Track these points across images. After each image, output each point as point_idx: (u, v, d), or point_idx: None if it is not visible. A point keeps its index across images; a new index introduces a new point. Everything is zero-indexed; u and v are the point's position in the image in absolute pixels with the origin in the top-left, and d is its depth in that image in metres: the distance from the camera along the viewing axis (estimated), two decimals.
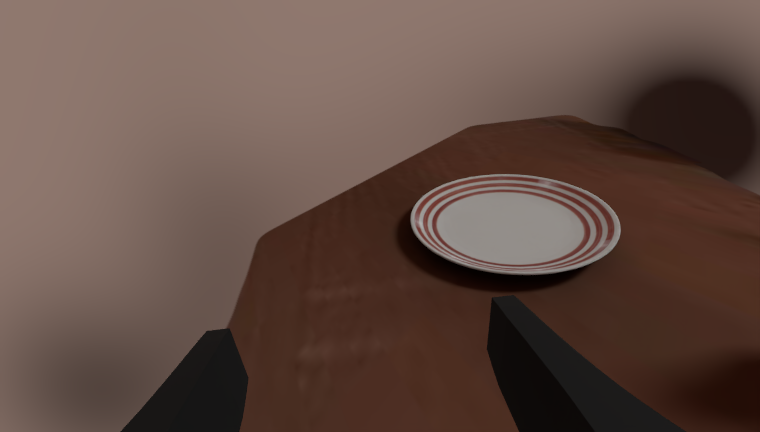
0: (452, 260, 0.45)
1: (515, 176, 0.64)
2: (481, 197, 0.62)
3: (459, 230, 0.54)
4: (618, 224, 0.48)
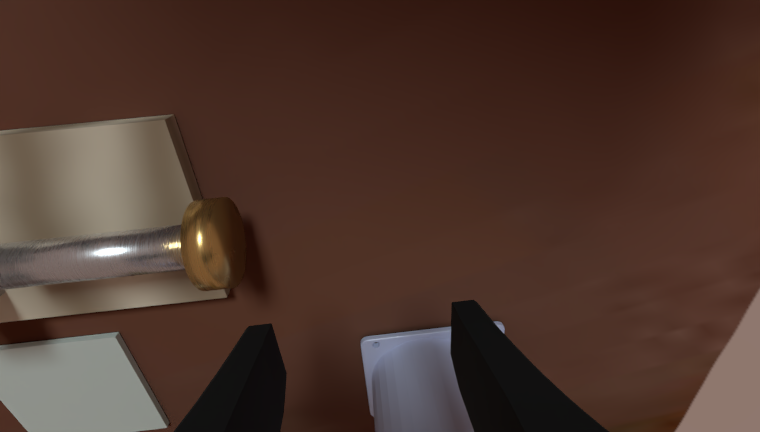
0: None
1: None
2: None
3: None
4: None
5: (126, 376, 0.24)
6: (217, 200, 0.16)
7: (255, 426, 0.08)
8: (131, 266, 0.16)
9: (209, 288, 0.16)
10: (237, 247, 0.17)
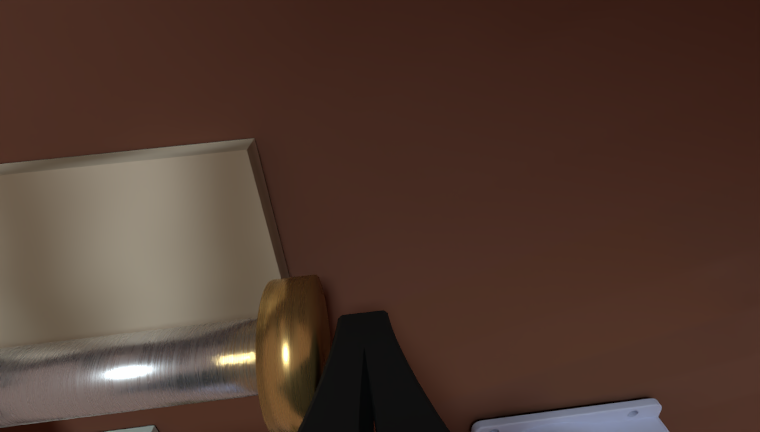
0: None
1: None
2: None
3: None
4: None
5: None
6: (307, 288, 0.10)
7: (366, 411, 0.08)
8: (166, 399, 0.09)
9: None
10: (325, 348, 0.11)
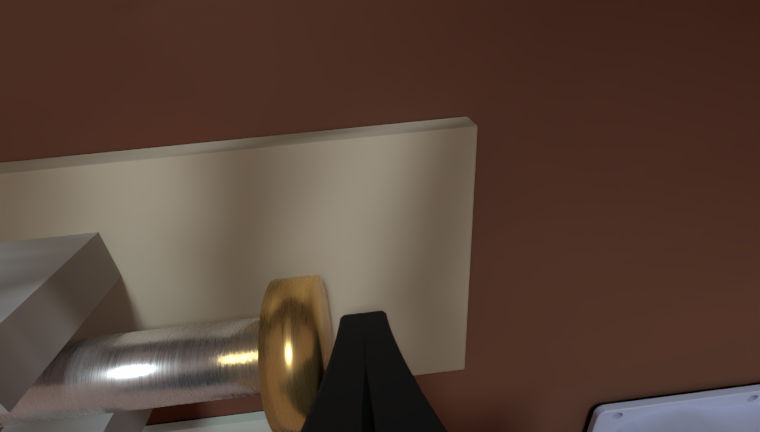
0: None
1: None
2: None
3: None
4: None
5: None
6: (309, 288, 0.10)
7: (368, 411, 0.08)
8: (168, 398, 0.09)
9: None
10: (327, 347, 0.11)
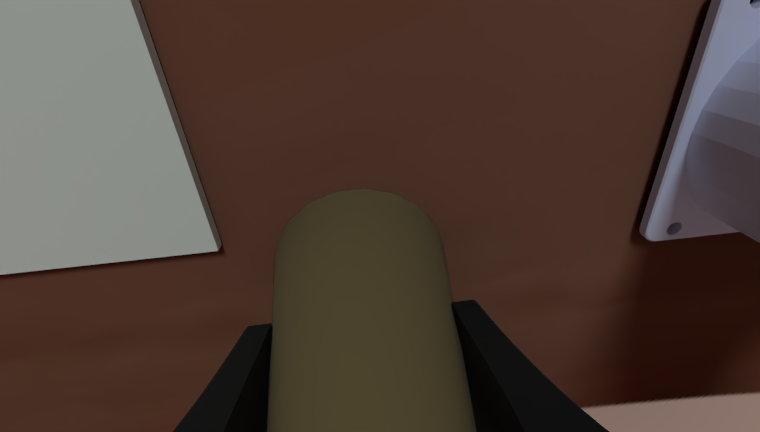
0: None
1: None
2: None
3: None
4: None
5: (126, 70, 0.09)
6: None
7: (254, 426, 0.08)
8: None
9: None
10: None
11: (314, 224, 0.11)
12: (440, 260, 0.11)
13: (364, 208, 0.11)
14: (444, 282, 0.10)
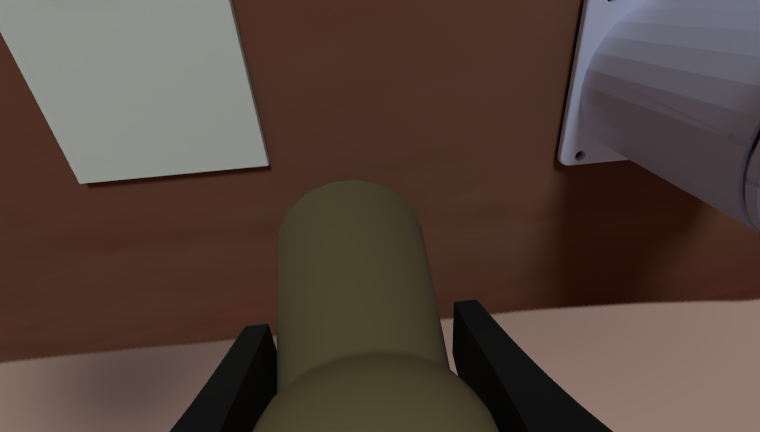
0: None
1: None
2: None
3: None
4: None
5: (221, 40, 0.15)
6: None
7: (251, 426, 0.08)
8: None
9: None
10: None
11: (312, 207, 0.13)
12: (418, 235, 0.13)
13: (354, 193, 0.13)
14: (421, 250, 0.13)
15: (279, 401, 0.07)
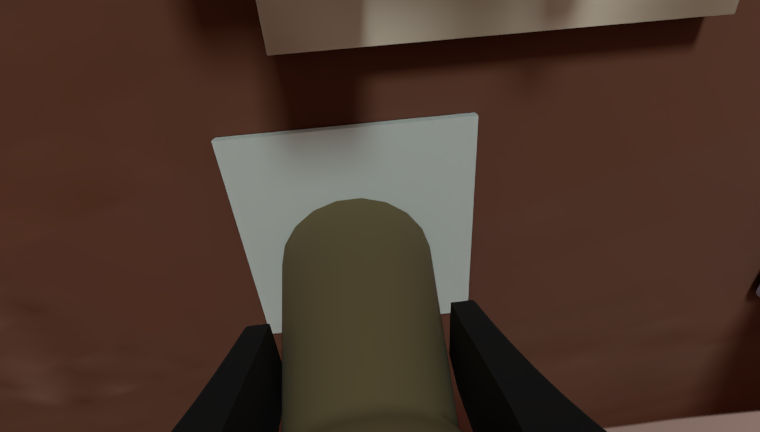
0: None
1: None
2: None
3: None
4: None
5: (456, 205, 0.14)
6: None
7: (252, 426, 0.08)
8: None
9: None
10: None
11: (317, 228, 0.13)
12: (425, 258, 0.13)
13: (360, 214, 0.13)
14: (428, 275, 0.12)
15: None
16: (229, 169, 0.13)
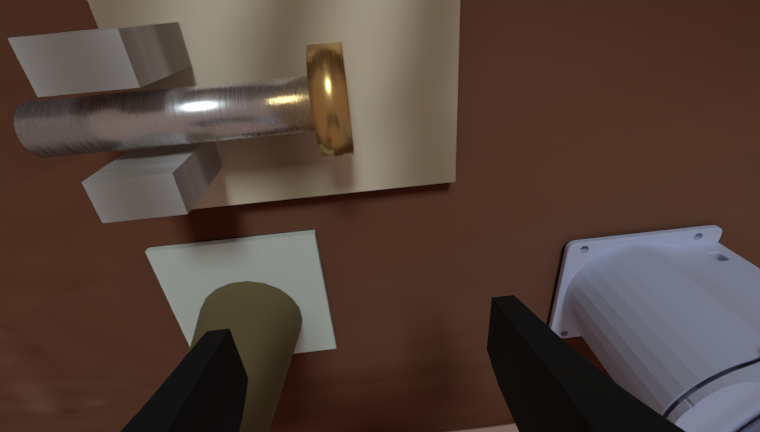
0: None
1: None
2: None
3: None
4: None
5: (312, 284, 0.22)
6: None
7: None
8: (238, 120, 0.13)
9: (330, 147, 0.13)
10: None
11: (214, 304, 0.21)
12: (283, 323, 0.21)
13: (241, 295, 0.21)
14: (279, 337, 0.20)
15: None
16: (158, 266, 0.20)
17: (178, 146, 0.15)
